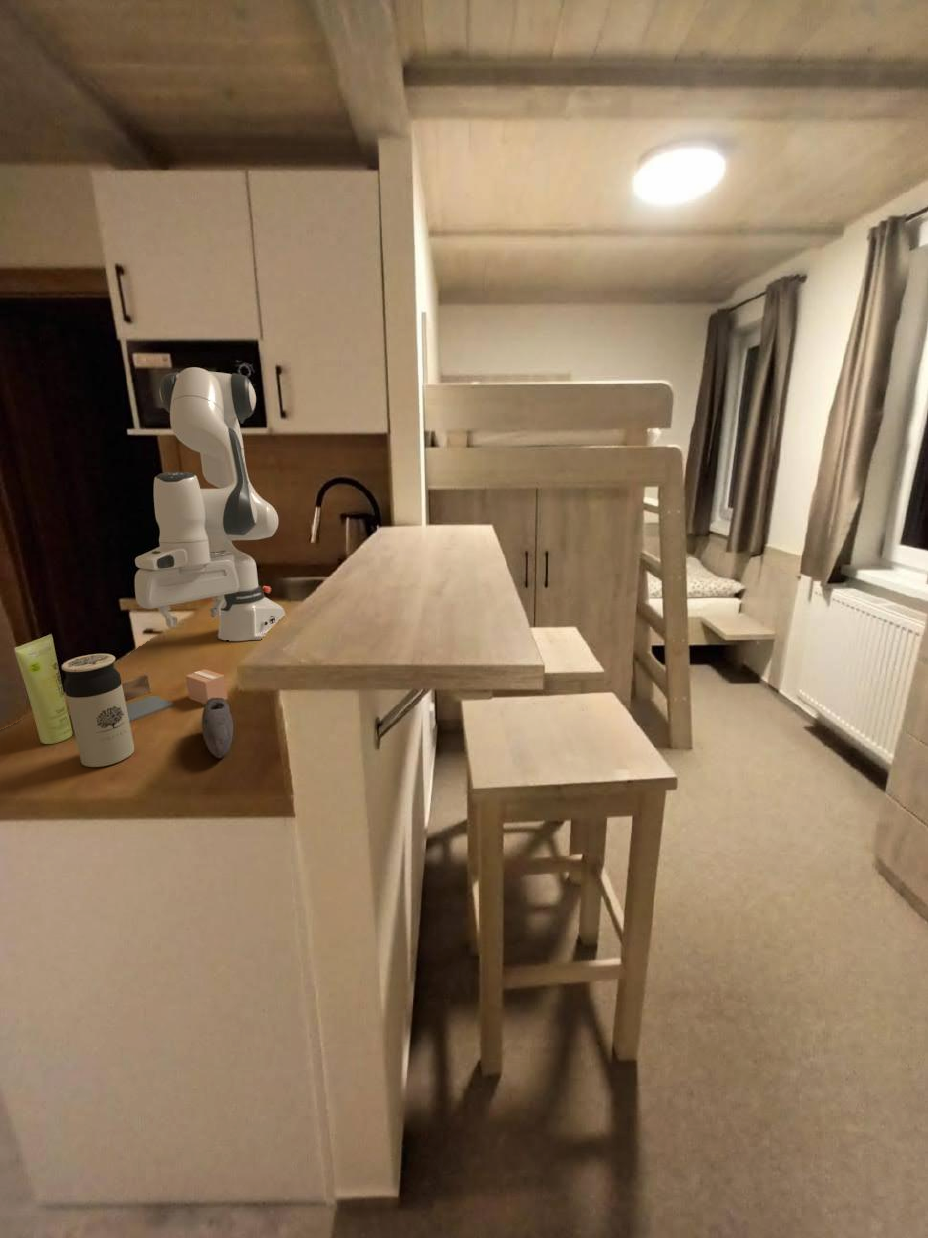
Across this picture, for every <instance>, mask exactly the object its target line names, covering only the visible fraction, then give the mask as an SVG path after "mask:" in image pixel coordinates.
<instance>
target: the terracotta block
mask: <svg viewBox="0 0 928 1238" xmlns="http://www.w3.org/2000/svg"><path fill="white" fill-rule="evenodd" d="M185 679H186V680H185V681H186V687H187V692H188V699H189V700H192V701H195V702H197V703H200V704H202V705H205V704H206V702H207V701H208V700H209V699H211V698H223V699H224V700H225V701H226V700H227V699H228V691H227V685H226V678H225V675H224V674H220V673H218V672H214V671H212V670H208V669H205V668H204V669H201V670H198V671H195V672H193V673H190V674H187V675H185Z"/></svg>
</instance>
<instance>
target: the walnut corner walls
mask: <svg viewBox="0 0 928 1238" xmlns="http://www.w3.org/2000/svg"><path fill="white" fill-rule="evenodd" d="M121 682H122V687H123V692H124V697H125V702H127V701H130V700H133V699H136V698H139V697H141V696H144V695H147V694H150V693H151V688H150V684H149V683H150V682H149V677H148V675H147V674H143V675H139V676H137V677H134V678H130V679H127V680H124V681H121Z"/></svg>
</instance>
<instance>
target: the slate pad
mask: <svg viewBox="0 0 928 1238" xmlns="http://www.w3.org/2000/svg"><path fill="white" fill-rule="evenodd" d="M173 706H174V703H173V702H171V701H170V700H169V701H168V700H165V699H163V698H161V697H159V696H155V695H151V696H148V697H145V698H143V699H139V700H138V701H135V702H132V703H131V702H130V703H129V704H126V708H127V713H128V718H129V723H131V722H133V721H136V720H138V719H141V718H143V717H146V716H149V715H151V714H153V713H157V712H159V711H162V710H164V708H165V709H167V708H170V707H173Z"/></svg>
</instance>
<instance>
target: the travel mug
mask: <svg viewBox="0 0 928 1238" xmlns="http://www.w3.org/2000/svg"><path fill="white" fill-rule="evenodd" d="M115 661H116V657H115V656H114V655H112V654H110V653H94V654H93V653H92V654H87V655H81V656H77V657H74V658H70V659H69V660H67V661H65V662H63V664H61V670H62V671H64V673H65V675H66V678H65V679H64V682H63V690H64V694H65V699H66V703H67V705H68V712H69V714H70V715H69V716H70V721H71V723H72V724H71V725H72V729H73V733H74V735H75V736H74V737H75V742H76V745H77V750H78V755H79V759H80V764H81V765H83V766H85V767H88V768H102V767H108V766H111V765H114V764H118V763H119V762H122V761H123V760H126V759H127V758H128V757H130V756H131V755H132V754H133V753H134V752H135V744H134V739H133V734H132V729H131V724H130V723H131V722H129V718H128V713H127V708H126V705H127V703H126V702H127V701H125V697H124V692H123V687H122V682H123V681H122V677H121V674H120V672H119V671H118V670H117V669H116V668H115Z"/></svg>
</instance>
